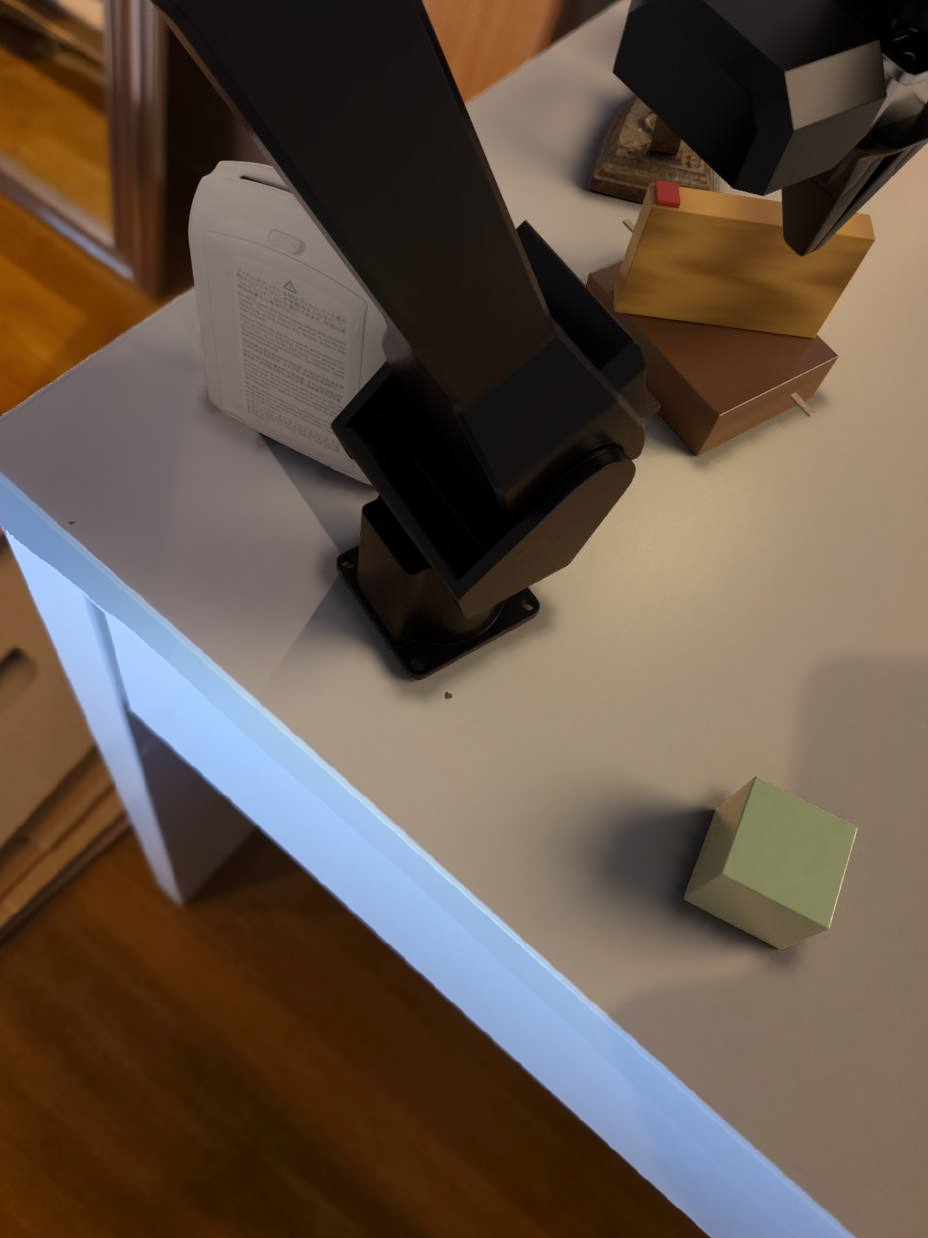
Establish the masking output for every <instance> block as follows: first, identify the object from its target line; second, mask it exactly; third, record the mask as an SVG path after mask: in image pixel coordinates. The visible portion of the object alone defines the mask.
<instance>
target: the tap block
mask: <svg viewBox="0 0 928 1238" xmlns="http://www.w3.org/2000/svg"><path fill="white" fill-rule="evenodd" d="M622 224H623V225H624V227H626V228H627V229H628V231H629V232H630V233H631V234H632V233H633V230H634V227H635V223H633V221H632V220H630V218H626V219H624V220H623V221H622ZM622 262H623V259H622V260H620V261H617V262H615V263H612V264H610V265H607V266H605V267H602V268H600V269H598V270H597V269H596V270H595V271H592V272H590V273H589V274H588V276H587V279H586V282H585V285H586V286H587V288H588V289H589V290H590V291H591V292H592V293H593V294H594V295H595V296H596V297H597V299H598V300H599V301H600V302H601V303H602V304H603V305H604V306H605V307H606V308H607V310H608V311H609V312H610V313H611V314H612V315H613V316H614V317H615V318H616V320H617V321H618V322H619V323H620V324H621V325H622V326H623V327H624V328H625V329H626V331H627V332H628V333H629V334H630V335H631V336H632V337H633V338H634V339H635V340H636V342H637V343H638V344H639V345H640V348H641V351H642V354H643V357H644V360H645V363H646V368H647V370H646V389H647V390H648V391H649V392H650V393H651V394H652V396H653V397H654V398H655V399H656V400H657V401H658V402H659V403H660V405H661V407H660V409H659V410H658V411H657V413H658V414H659V415H660V416H661V417H662V418H663V420H664V421H665V422H666V423H667V424H668V425H669V426H670V427H671V429H672V430H673V431H674V432H675V433H676V434H677V436H679V437H680V439H681V440H682V441H683V442H684V443H685V444H686V445H687V447H688V448H689V449H690V450H691V451H692V453H694V454H695V456H697V457H698V456H700V455H702V454H704V453H706V452H708V451H710V450H712V449H714V448H716V447H717V446H719V445H722V444H723V443H727V442H728V441H730V440H732V439H733V438H736V437H737V436H739V435H741V434H744V433H745V432H747V431H749V430H751V429H752V428H755V427H756V426H758V425H761V424H762V423H765V422H766V421H768V420H770V419H772V418H774V417H776V416H778V415H780V414H782V413H784V412H786V411H788V410H790V409H792V408H794V407H798V408H799V409H800V410H801V411H802V412H803V414H804V415H805V416H806V417H807V418H812V417H813V416H815V415H816V411H814V410H813V408H812V407H810V406H809V405H808V403H807V402H806V401H807V400H809V399H811V398H813V397H814V395H815V394H816V392H817V390H818V389H819V387H820V386H821V385H822V383H823V381H824V380H825V378H826V377H827V375H828V374H829V372H830V371H831V369H832V368H833V367H834V365H835V363H836V362H837V360H838V359H839V355H838V354H837V353H836V352H835V351H834V349H832V348H831V347H830V346H829V345H828V344H827V343H826V342H825V341H824V339H823V338H822V337H820V336H819V335H818V334H817V335H816V337H815V338H807V337H799V336H792V335H784V334H777V333H769V332H762V331H754V330H747V329H739V328H732V327H725V326H717V325H710V324H702V323H695V322H687V321H680V320H672V319H665V318H657V317H650V316H642V315H635V314H628V313H620V312H615V311H614V292H613V288H614V285H615V282H616V279H617V276H618V273H619V270H620V268H621V265H622Z"/></svg>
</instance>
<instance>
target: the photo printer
mask: <svg viewBox="0 0 928 1238" xmlns="http://www.w3.org/2000/svg"><path fill="white" fill-rule="evenodd" d="M187 232H188V245H189V251H190V259H191V268H192V276H193V283H194V291H195V300H196V308H197V315H198V323H199V332H200V341H201V347H202V356H203V357H202V358H203V364H204V373H205V382H206V389H207V390H206V391H207V395H208V397H209V398H208V399H209V401H210V402H211V403H212V404H213V406H215V407H216V408H217V409H218V410H220V411H222V412H223V413H224V414H226V415H228V416H229V417H230V418H232V419H234V420H236V421H238V422H240V423H242V424H243V425H245V426H247V427H249V428H251V429H253V430H254V431H257V432H259V433H260V434H262V435H264V436H266V437H268V438H270V439H272V440H273V441H276V442H278V443H280V444H282V445H284V446H286V447H287V448H289V449H292V450H293V451H296V452H298V453H300V454H302V455H304V456H306V457H308V458H311V459H313V460H315V461H316V462H318V463H320V464H322V465H324V466H326V467H329V468H331V469H333V470H334V471H337V472H339V473H341V474H343V475H345V476H348V477H350V478H352V479H354V480H357V481H358V482H361V483H364V484H366V485H368V486H372V484H371V483H370V481H369V480H368V479H367V477H366V476H365V474H364V473H363V472H362V470H361V469H360V468H359V466H358V465H357V463H356V462H355V461H354V459H350V457H349V456H348V455H347V453H346V452H345V450H344V449H343V447H342V446H341V444H340V442H339V441H338V439H337V437H336V436H335V434H334V432H333V431H332V429H331V424H332V421H333V420H334V419H335V418H336V417H337V416H338V414H339V413H340V412H341V411H342V410H343V409H344V408H345V407H346V405H347V404H348V403H349V402H350V401H351V400H352V399H353V398H354V396H355V395H356V394H357V393H358V392H359V391H360V390H361V389H362V387H363V386H364V385H365V384H366V383H367V382H368V381H369V380H370V378H371V377H372V376H373V375H374V374H375V373H376V372H377V371H378V369H379V368H380V367H381V366H382V365H383V364H384V363H385V362H386V360H387V359H386V356H385V353H384V351H383V348H382V340H383V335H384V333H385V330H386V328H387V324H386V322H385V319H384V317H383V315H382V314H381V313H380V311H379V310H378V309H377V307H376V306H375V304H374V303H373V302H372V300H371V299H370V298H369V296H368V295H367V294H366V292H365V291H364V290H363V288H362V287H361V286H360V284H359V283H358V281H357V280H356V279H355V277H354V276H353V275H352V273H351V272H350V271H349V269H348V268H347V267H346V265H345V264H344V263H343V261H342V260H341V259H340V257H339V256H338V254H337V253H336V252H335V250H334V249H333V248H332V246H331V245H330V244H329V242H328V241H327V240H326V238H325V237H324V236H323V234H322V233H321V231H320V230H319V229H318V227H317V226H316V225H315V223H314V222H313V221H312V219H311V218H310V217H309V215H308V214H307V213H306V211H305V210H304V208H303V207H302V206H301V204H300V203H299V202H298V200H297V199H296V198H295V196H294V195H293V194H292V192H291V191H290V190H289V188H288V187H287V185H286V184H285V183H284V181H283V180H282V179H281V177H280V176H279V175H278V173H277V172H276V171H275V169H274V168H273V167H272V165H270V164H263V163H259V162H253V161H252V162H251V161H240V160H220V161H218V163H217V164H216V166H215V168H214V169H213V170H212V171H211V172H210V173H209V174H206V175H205V176H202V178H201V179H200V181H199V183H198V185H197V188H196V190H195V193H194V196H193V199H192V203H191V208H190V211H189V219H188V231H187ZM372 487H373V486H372Z"/></svg>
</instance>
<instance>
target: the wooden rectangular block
mask: <svg viewBox="0 0 928 1238" xmlns="http://www.w3.org/2000/svg"><path fill="white" fill-rule="evenodd" d="M634 225H635V227H634V230H633V233H632V232H631V236H630V239H629V241H628V244H627V248H626V250H625V254H624V256H623V259H622V260H623V262H622V265H621V268H620V270H619V273H618V276H617V279H616V282H615V285H614V288H613V292H614V311H615V312H620V313H628V314H635V315H642V316H650V317H657V318H665V319H672V320H680V321H687V322H695V323H702V324H710V325H717V326H725V327H732V328H739V329H747V330H754V331H762V332H769V333H777V334H784V335H792V336H799V337H807V338H815V337H816V335H818V333H819V332H820V331H821V329H822V327H823V325H824V324H825V322H826V321H827V320H828V318H829V316H830V314H831V312H832V311H833V309H834V308H835V306H836V305H837V303H838V301H839V300H840V298H841V297H842V295H843V293H844V292H845V290H846V288H847V286H848V285H849V283H850V282H851V280H852V279H853V277H854V275H855V274H856V272H857V270H858V269H859V268H860V265H862V263H863V261H864V259H865V257H866V256H867V254H868V253H869V251H870V249H871V248H872V246H873V245H874V243H875V241H876V235H875V230H874V225H873V222H872V217H871V215H870V214H867V213H861V212H856V213H855V214H854V215H853V216H852V217H851V218H850V219H849V220H848V221H847V222H846V223H845V224H844V225H843V226H842V227H841V228H840V229H839V230H838V231H837V232H836V233H835V234H834V235H833V236H832V237H831V238H830V239H829V240H828V241H827V242H826V243H825V244H824V245H823V246H822V247H821V248H820V249H819V250H817V251H814V252H812V253H810V254H808V255H805V256H799V255H798V254H797V253H796V252H795V251H794V250H793V249H791V248H790V247H789V246H788V245H787V244H786V242H785V241H784V238H783V220H782V201H779V200H773V199H772V200H771V199H766V198H758V197H751V196H745V195H739V194H731V193H724V192H718V191H714V192H712V191H705V190H698V189H691V188H685V187H679V184H678V183H672V182H665V181H658V180H656V183H650V184H649V187H648V190H647V193H646V195H645V198H644V201H643V203H641V208H640V210H639V213H638V216H637V219H636V222H635V223H634Z"/></svg>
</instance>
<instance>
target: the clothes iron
mask: <svg viewBox="0 0 928 1238" xmlns="http://www.w3.org/2000/svg"><path fill="white" fill-rule="evenodd" d="M714 173H715V171H714V170H713V169H712V168H711V167H710V166H709V165H708V164H707V163H706V162H705V161H703V160H702V159H701V158H700V157H699V156H698V155H697V154H696V153H695V152H694V151H693V150H692V149H691V148H690V147H689V146H688V145H687V144H686V143H685V142H684V141H683V140H682V139H681V138H680V137H679V136H678V135H676V134H675V133H674V132H673V131H672V130H671V129H670V128H669V127H668V126H667V125H666V124H665V123H664V122H663V121H662V120H661V119H660V118H659V117H658V116H657V115H656V114H655V113H654V112H653V111H652V110H651V109H649V108H648V107H647V106H646V105H645V104H644V103H643V102H642V101H641V100H640V99H639V98H638V97H637V96H636V95H635V94H634V95H632V96H631V98H629V100H627V101H626V102H625V103H624V104H623V106H622V107H620V109H619V110H618V112H617V113H616V114H615V116H614V117H613V119H612V121H611V122H610V124H609V126H608V128H607V130H606V133H605V134H604V136H603V139H602V142H601V143H600V147H599V150H598V152H597V155H596V158H595V162H594V164H593V169H592V173H591V176H590V180H589V188H590V189H591V190H593V191H594V192H597V193H601V194H605V195H608V196H612V197H616V198H620V199H624V200H629V201H631V202H636V203H641V204H643V201H644V198H645V195H646V193H647V190H648V187H649V184H650V183H656V180H658V181H665V182H672V183H678V184H679V187H685V188H691V189H698V190H705V191H712V192H715V179H714V178H715V177H714V175H715V174H714Z"/></svg>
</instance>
